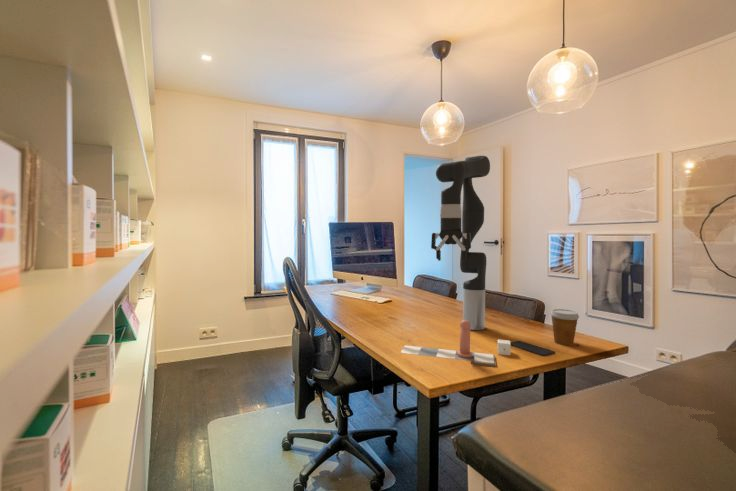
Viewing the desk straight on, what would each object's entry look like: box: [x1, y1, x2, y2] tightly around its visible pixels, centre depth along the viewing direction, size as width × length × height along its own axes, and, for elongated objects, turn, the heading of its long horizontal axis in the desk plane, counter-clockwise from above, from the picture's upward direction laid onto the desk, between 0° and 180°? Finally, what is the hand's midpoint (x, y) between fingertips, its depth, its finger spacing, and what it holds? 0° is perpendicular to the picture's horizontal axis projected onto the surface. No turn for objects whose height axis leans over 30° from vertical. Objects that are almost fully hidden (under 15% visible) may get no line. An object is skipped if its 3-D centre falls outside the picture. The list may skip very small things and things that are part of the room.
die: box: [496, 339, 512, 356], centre depth 120 cm, size 4×4×4 cm
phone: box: [510, 340, 556, 357], centre depth 125 cm, size 7×1×15 cm
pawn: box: [456, 319, 473, 358], centre depth 115 cm, size 5×5×12 cm
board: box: [400, 344, 497, 368], centre depth 117 cm, size 9×31×1 cm, turn 73°
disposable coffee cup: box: [549, 308, 580, 346], centre depth 132 cm, size 10×10×12 cm
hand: (450, 260), depth 129 cm, fingers open, 8 cm apart
